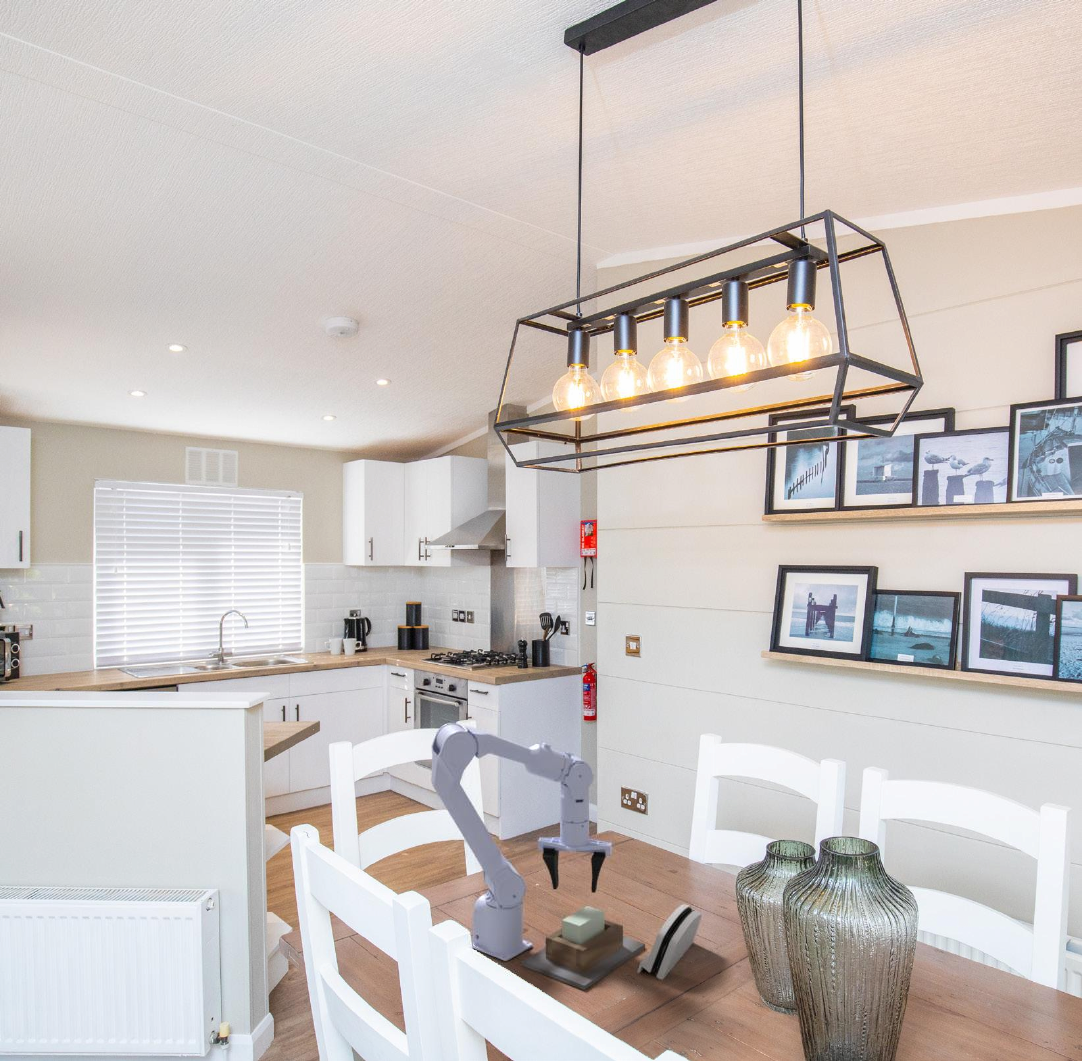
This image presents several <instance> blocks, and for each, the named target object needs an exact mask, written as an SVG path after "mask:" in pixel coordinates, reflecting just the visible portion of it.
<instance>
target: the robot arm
mask: <svg viewBox="0 0 1082 1061" xmlns="http://www.w3.org/2000/svg"><path fill="white" fill-rule="evenodd" d="M431 754H432V756H431V778H430V779H431V784H432V787H433V789H434V791H435V793H437V796H438V797H439V799H440V800H441V802H442V804H443V806H444V807H445V809H446V810H447V812H448V814H449V815H450V817H451V819H452V820H453V822H454V823H455V825H456V827H457V828H458V830H459V832H460V833H461V835H462V837H463V839H464V840H465V842H466V844H467V845H468V847H469V848H470V850H471V853H473V855H474V857H475V858H476V860H477V862H478V864H479V866H480V867H481V870H482V876H483V877H482V878H483V881H484V884H485V885H486V886H487V887H488V890H487V892H486V893H484V894H482V895H481V896H479V898H477V900H476V901H475V904H474V906H473V911H472V943H473V948H472V949H474V950H477V951H479V952H482V953H485V954H486V955H489V956H492V957H495V958H497V959H499V960H502V961H504V962H507V961H510V960H511V959H512V958H514V957H517V956H519V955H520V954H522V953H524V952H525V951H526V950H528V949H530V948H531V947H533V943H532V942H530V941H527V940H524V898H525V896H526V893H527V884H526V883H527V882H526V881H525V878H524V877H523V876H522V875H520V873H519V872H518V871H517V870H516V869H515V867H514V864H513V863H512V861H511V860H509V859H508V858H506V857H505V856H504V855H503V853H502V852H501V850H500V848H499V847H498V844H497V843H496V841H495V840H494V838H493V836H492V835H491V833H490V831H489V830H488V828H487V827H486V825H485V823H484V822H483V820H482V817H480V815H479V813H478V812H477V810H476V808H475V806H474V805H473V804H472V801H471V800H470V798H469V797H468V795H467V793H466V791H465V789H464V788H463V786H462V785H461V780H462V778H463V775H464V772H465V770H466V769H467V767H468V766H469V765H470V763H471V762H472V761H473V759H474V757H476V759H481V758H483V757H485V756H487V755H488V754H490V755H493V756H496V757H499V758H504V759H507V760H511V761H514V762H517V763H521V764H523V765H524V767H525V769H526V771H527V773H530V774H532V775H535V776H537V777H541V778H544V779H547V780H549V781H552V782H555V783H560V795H559V796H560V797H559V800H560V801H559V811H560V813H559V814H560V815H559V817H560V819H559V823H560V824H559V825H560V827H559V829H560V830H559V832H560V833H559V834H560V836H557V837H554V836H553V837H539V839H538V840H537V850H538V851H543V852H542V854H541V855H542V859H543V861H544V863H545V865H546V867H547V870H548V872H549V876H550V879H551V885H552V890H557V889H558V888H559V880H560V879H559V878H560V877H559V856H560V855H559V853H560V852H569V853H570V852H571V853H583V854H584V853H585V854H587V853H588V854H592V855H591V858H590V862H591V887H590V888H591V893H594V894H595V893H596V892H597V888H598V887H597V886H598V880H599V877H600V873H601V869H602V867H603V864H604V862H605V859H606V857H607V856H609V857H610V856H611V855H612V852H613V851H612V850H613V847H612V846H613V844H612V842H608V841H601V840H596V839H594V838H593V839H592V838H590V795H589V794H590V789H589V788H590V787H591V785H592V784H593V781H594V778H595V774H594V773H593V770H592V768H591V766H590V765H589V763H588V762H586V761H585V760H583V759H582V758H580V757H578V756H576V755H574V753H572V752H569V751H565V752H562V751H559V750H556V749H553V748H552V745H550V744H549V743H546V742H542V744H539V743H536V744H534V745H533V744H532V745H531V746H529V747H527V746H525V745H523V744H522V745H521V744H520V743H518V742H515V741H512V740H510V739H507V738H504V737H502V736H499V735H497V734H494V733H492V732H489V731H486V730H483V729H481V728H480V729H479V728H476V727H472V726H467V725H464V727H463V726H462V725H461V724H459V723H456V722H449V723H446V724H443V725H442V726H441V727H440V728H439V729H438V730H437V731H436V734H435V736H434V738H433V741H432V744H431ZM474 944H475V945H474Z"/></svg>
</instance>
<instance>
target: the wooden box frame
mask: <svg viewBox="0 0 1082 1061" xmlns="http://www.w3.org/2000/svg"><path fill="white" fill-rule="evenodd" d="M645 949H646V943H644V942H641V941H639V940H636V939H632V938H630V937H627V936H624V925H621V924H620V923H616V922H613V921H610V920H608V919H607V920H606V919H604V932H602V933H600V934H599V935H597V936H595V937H594V938H592V939H591V940H589V941H587V942H586V943H584V944H583V945H579V944H576V943H573V942H570V941H568V940H565V939H562V927H561V928H559V929H558V930H556V931H554V932H552V933H551V934H549V935H547V936H545V947H543V948H542V949H540V950H538V951H537V952H535V953H533V954H532V955H530V956H528V957H527V958H525V959H523V960H521V966H523V967H525V968H527V969H530V970H532V971H534V972H537V973H539V974H542V975H544V976H547V977H550V978H552V979H555V980H557V981H559V982H562V983H565V984H567V985H569V986H573V987H575V988H576V989H577V988H578V989H580V990H581V991H586V990H587V989H589V988H590V987H591V986H593V985H594V984H596V983H598V982H599V981H600V980H602V979H603V978H605V977H606V976H608V975H609V974H610V973H611V972H613V971H614V970H616V969H617V968H619V967H621V965H623V964H624V963H625V962H628V961H629V960H630V959H631V958H633V957H634V956H636V955H637V954H639V953H641V951H643V950H645Z"/></svg>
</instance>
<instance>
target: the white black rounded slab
mask: <svg viewBox="0 0 1082 1061" xmlns="http://www.w3.org/2000/svg"><path fill="white" fill-rule="evenodd" d="M701 920H702V913H701V912H699V910H698V909H695V910H693V908H692V907H691V905H688V904H685V903H684V904H681V905H679V906H678V907H677V908H676V909H675V910H674V911H673V912H672V913H671V914H670V915H669V917H668V918H667V919H666V920H665V922H664V924H663V925H662V927H661V928H660V930H659V931H658V933H657V935H656V938H655V940H654V942H653V945H652V948H651V951H650V952H649V953H648V954H647V955H646V956H645V958H643V960H641V961H640V963H639V965H638V968H637V970H636V971H637V972H636V973H638V974H640V973H641V972H642V971H643V970H644V969H645V970H646V971H647V972H648V973H651V972H655V975H656V979H658V980H664V979H665V978H666V977H667V976H668V974H669V973H670V972H671V970H672V969H673V968H674V967H675V966H676V965H677V963H678V962H679V961H680V959H681V958H682V957H683V956H684V955H685V953H686V952H687V950H689V949H690V947H691V946H692V944H694V940H695V937H696V934H697V931H698V929H699V926H700V922H701Z"/></svg>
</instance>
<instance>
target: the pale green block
mask: <svg viewBox="0 0 1082 1061" xmlns="http://www.w3.org/2000/svg"><path fill="white" fill-rule="evenodd" d="M604 920H605V911H604V910H601V909H598V908H595V907H592V906H589V905H586V906H584V907H583V908H581V909H579V910H577V911H575V912H574V913H572V914H570V915H568V916H566V917H565V918H564V919H562V920H561V924H562V925H561V928H562V939H565V940H568V941H570V942H573V943H576V944H579V945H583V944H584V943H586V942H587V941H589V940H591V939H592V938H594V937H595V936H597V935H599V934H600V933H602V932H604Z"/></svg>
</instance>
